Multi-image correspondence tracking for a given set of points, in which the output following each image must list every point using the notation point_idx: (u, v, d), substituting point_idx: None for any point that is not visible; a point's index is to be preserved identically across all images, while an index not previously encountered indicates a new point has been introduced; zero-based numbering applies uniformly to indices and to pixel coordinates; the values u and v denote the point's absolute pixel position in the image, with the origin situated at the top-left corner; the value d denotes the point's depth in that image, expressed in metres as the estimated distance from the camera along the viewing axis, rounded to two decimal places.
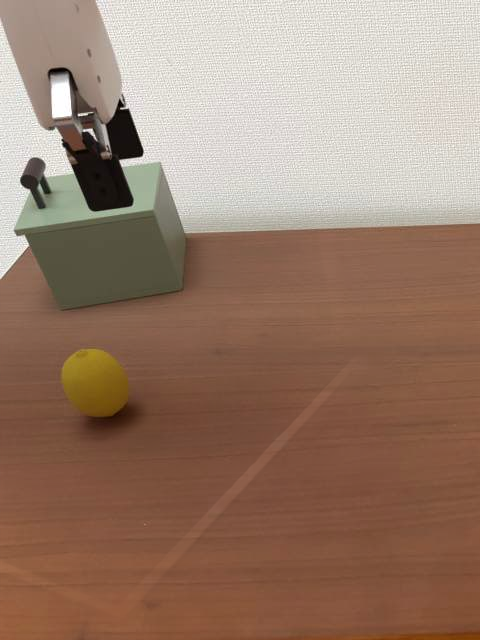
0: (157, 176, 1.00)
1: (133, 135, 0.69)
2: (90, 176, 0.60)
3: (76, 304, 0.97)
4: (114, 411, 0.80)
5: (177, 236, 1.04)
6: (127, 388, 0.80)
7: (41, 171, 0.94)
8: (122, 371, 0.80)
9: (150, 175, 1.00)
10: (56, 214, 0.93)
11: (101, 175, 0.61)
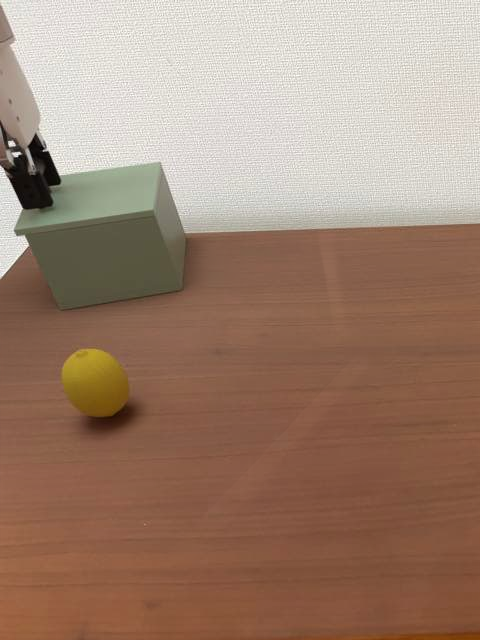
0: (157, 176, 1.00)
1: (52, 169, 0.96)
2: (21, 186, 0.90)
3: (76, 304, 0.97)
4: (114, 411, 0.80)
5: (177, 236, 1.04)
6: (127, 388, 0.80)
7: (41, 171, 0.94)
8: (122, 371, 0.80)
9: (150, 175, 1.00)
10: (56, 214, 0.93)
11: (29, 185, 0.91)
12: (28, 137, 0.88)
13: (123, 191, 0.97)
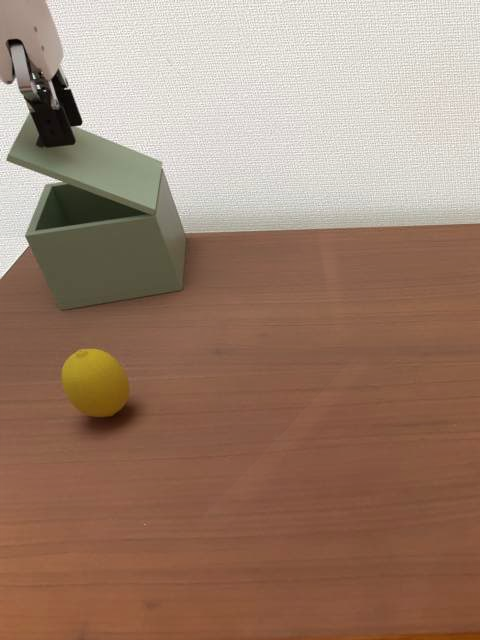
0: (159, 176, 1.00)
1: (74, 109, 0.93)
2: (43, 121, 0.87)
3: (76, 304, 0.97)
4: (114, 411, 0.80)
5: (177, 236, 1.04)
6: (127, 388, 0.80)
7: None
8: (122, 371, 0.80)
9: (152, 170, 1.00)
10: (55, 161, 0.89)
11: (51, 120, 0.87)
12: (52, 69, 0.85)
13: (125, 173, 0.96)
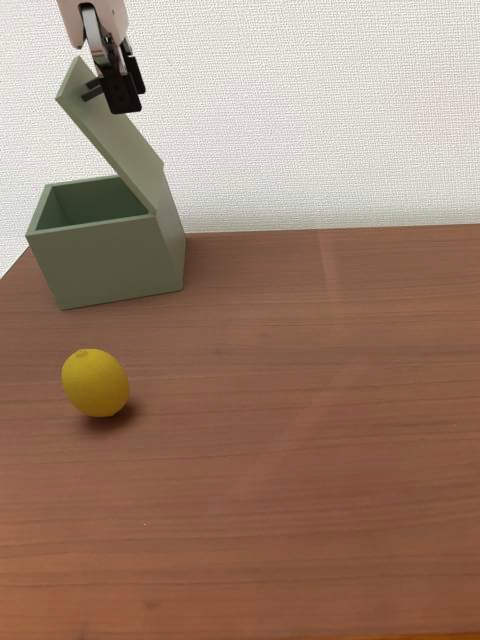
0: (161, 177, 1.00)
1: (138, 76, 0.93)
2: (112, 87, 0.87)
3: (76, 304, 0.97)
4: (114, 411, 0.80)
5: (177, 236, 1.04)
6: (127, 388, 0.80)
7: None
8: (122, 371, 0.80)
9: (157, 168, 1.00)
10: (92, 121, 0.88)
11: (120, 87, 0.87)
12: (121, 34, 0.85)
13: (139, 161, 0.95)
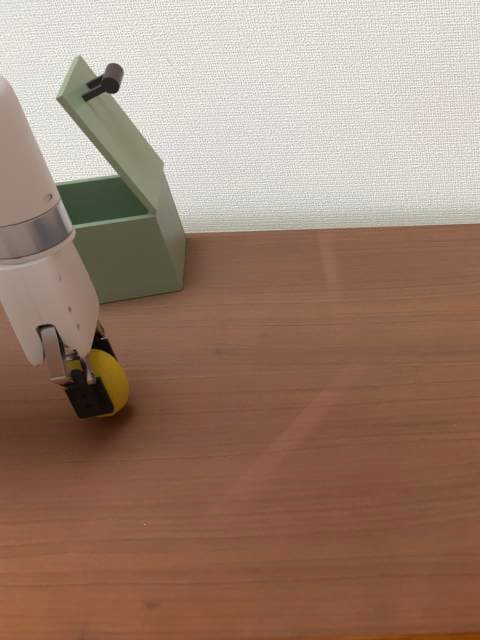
0: (161, 177, 1.00)
1: None
2: (78, 396, 0.75)
3: None
4: (114, 411, 0.80)
5: (177, 236, 1.04)
6: (127, 388, 0.80)
7: None
8: (122, 371, 0.80)
9: (157, 168, 1.00)
10: (93, 121, 0.88)
11: (87, 395, 0.75)
12: (89, 343, 0.73)
13: (139, 161, 0.95)
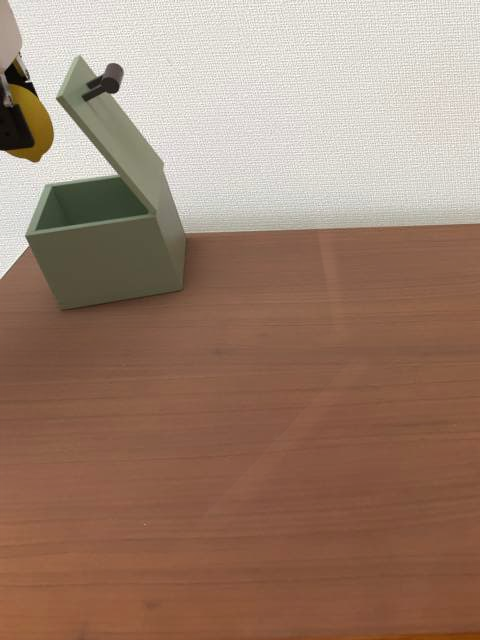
0: (161, 177, 1.00)
1: None
2: None
3: (76, 304, 0.97)
4: (37, 152, 0.80)
5: (177, 236, 1.04)
6: (50, 130, 0.81)
7: None
8: (45, 111, 0.80)
9: (157, 168, 1.00)
10: (93, 121, 0.88)
11: (5, 120, 0.76)
12: (5, 61, 0.74)
13: (139, 161, 0.95)
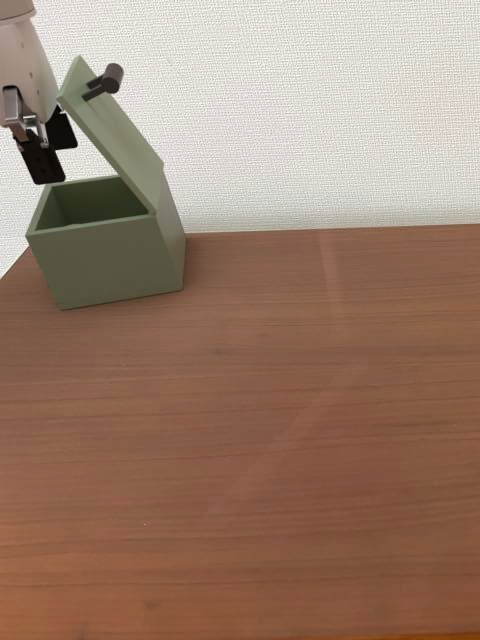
0: (161, 177, 1.00)
1: (69, 132, 0.96)
2: (33, 159, 0.87)
3: (76, 304, 0.97)
4: None
5: (177, 236, 1.04)
6: None
7: None
8: None
9: (157, 168, 1.00)
10: (93, 121, 0.88)
11: (41, 159, 0.87)
12: (48, 112, 0.87)
13: (139, 161, 0.95)
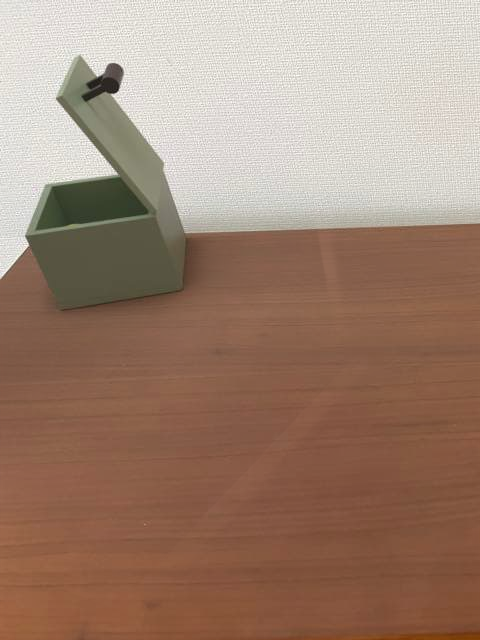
0: (161, 177, 1.00)
1: None
2: None
3: (76, 304, 0.97)
4: None
5: (177, 236, 1.04)
6: None
7: None
8: None
9: (157, 168, 1.00)
10: (93, 121, 0.88)
11: None
12: None
13: (139, 161, 0.95)
